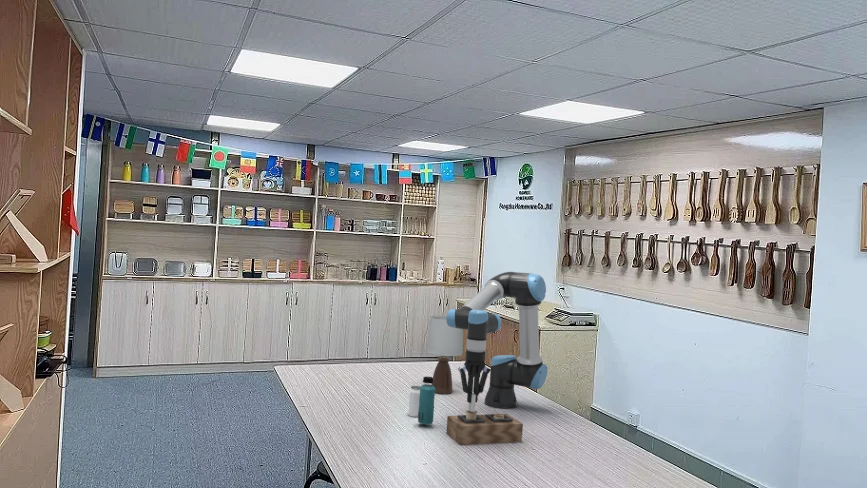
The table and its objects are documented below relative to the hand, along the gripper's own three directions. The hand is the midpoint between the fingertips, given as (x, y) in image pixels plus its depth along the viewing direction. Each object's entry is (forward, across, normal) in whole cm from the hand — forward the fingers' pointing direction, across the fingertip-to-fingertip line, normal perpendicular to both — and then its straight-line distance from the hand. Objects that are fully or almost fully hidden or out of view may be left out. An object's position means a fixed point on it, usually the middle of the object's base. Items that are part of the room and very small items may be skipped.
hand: (471, 410), depth 254 cm
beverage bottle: (+11, +12, -18) cm, 24 cm away
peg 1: (+8, 0, 0) cm, 8 cm away
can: (+11, +11, -33) cm, 37 cm away
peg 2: (+10, -12, 0) cm, 16 cm away
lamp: (+11, -16, -72) cm, 75 cm away
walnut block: (+11, -6, 0) cm, 12 cm away
